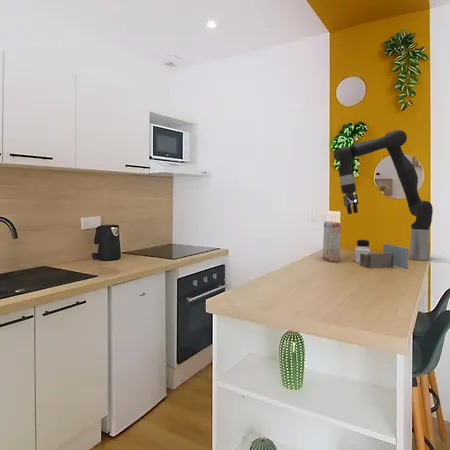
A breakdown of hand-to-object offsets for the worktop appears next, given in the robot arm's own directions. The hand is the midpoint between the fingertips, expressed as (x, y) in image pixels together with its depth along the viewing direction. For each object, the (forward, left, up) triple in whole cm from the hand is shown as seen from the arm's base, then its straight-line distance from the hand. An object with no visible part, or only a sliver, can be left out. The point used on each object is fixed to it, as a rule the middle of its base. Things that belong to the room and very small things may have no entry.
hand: (352, 213), depth 205 cm
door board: (-15, +16, -26) cm, 34 cm away
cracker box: (+10, -3, -26) cm, 28 cm away
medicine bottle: (-4, +5, -26) cm, 27 cm away
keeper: (-3, +18, -26) cm, 32 cm away
